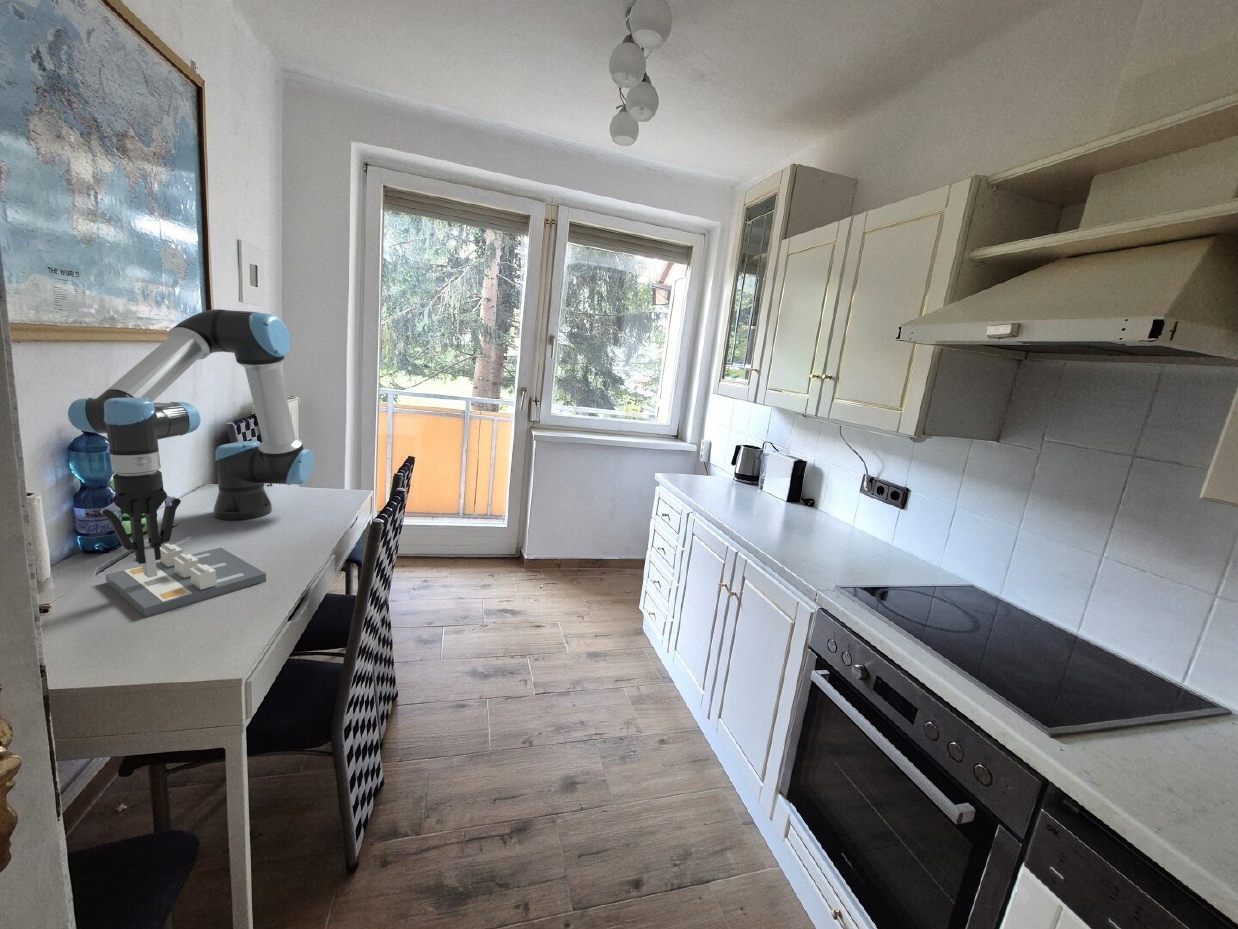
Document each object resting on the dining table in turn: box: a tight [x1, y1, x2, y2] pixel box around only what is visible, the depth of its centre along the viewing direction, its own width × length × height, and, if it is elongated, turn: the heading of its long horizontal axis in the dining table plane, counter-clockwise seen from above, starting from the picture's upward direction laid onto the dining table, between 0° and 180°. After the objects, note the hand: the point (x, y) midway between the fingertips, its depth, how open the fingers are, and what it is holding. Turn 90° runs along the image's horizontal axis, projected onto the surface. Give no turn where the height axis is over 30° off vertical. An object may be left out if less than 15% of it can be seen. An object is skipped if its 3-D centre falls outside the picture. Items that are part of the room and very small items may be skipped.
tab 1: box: [159, 543, 184, 567], centre depth 121 cm, size 3×5×4 cm, turn 58°
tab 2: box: [174, 552, 199, 578], centre depth 117 cm, size 3×5×4 cm, turn 58°
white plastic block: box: [190, 564, 217, 590], centre depth 112 cm, size 3×5×4 cm, turn 58°
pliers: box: [144, 535, 192, 547], centre depth 134 cm, size 10×2×15 cm
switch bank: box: [105, 547, 267, 618], centre depth 118 cm, size 22×24×2 cm
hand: (150, 575), depth 112 cm, fingers closed
